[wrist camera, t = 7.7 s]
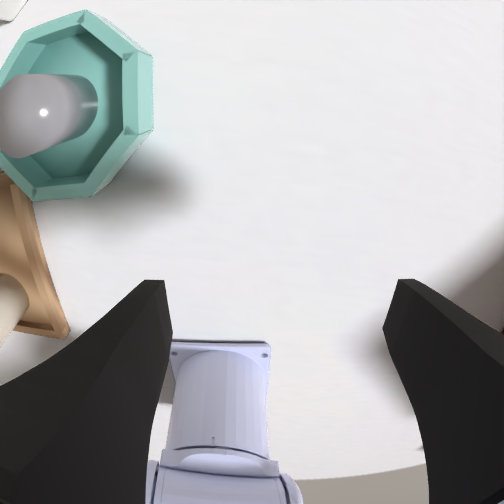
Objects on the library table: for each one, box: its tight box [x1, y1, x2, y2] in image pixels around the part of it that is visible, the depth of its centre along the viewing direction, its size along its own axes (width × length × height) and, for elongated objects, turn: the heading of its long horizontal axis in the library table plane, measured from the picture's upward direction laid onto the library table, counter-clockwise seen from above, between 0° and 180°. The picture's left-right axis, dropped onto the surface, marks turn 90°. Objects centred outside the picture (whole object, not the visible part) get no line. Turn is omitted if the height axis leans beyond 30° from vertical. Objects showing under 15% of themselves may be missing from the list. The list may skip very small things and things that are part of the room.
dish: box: [0, 10, 153, 202], centre depth 13 cm, size 10×10×3 cm
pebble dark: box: [0, 74, 98, 158], centre depth 12 cm, size 4×4×5 cm
